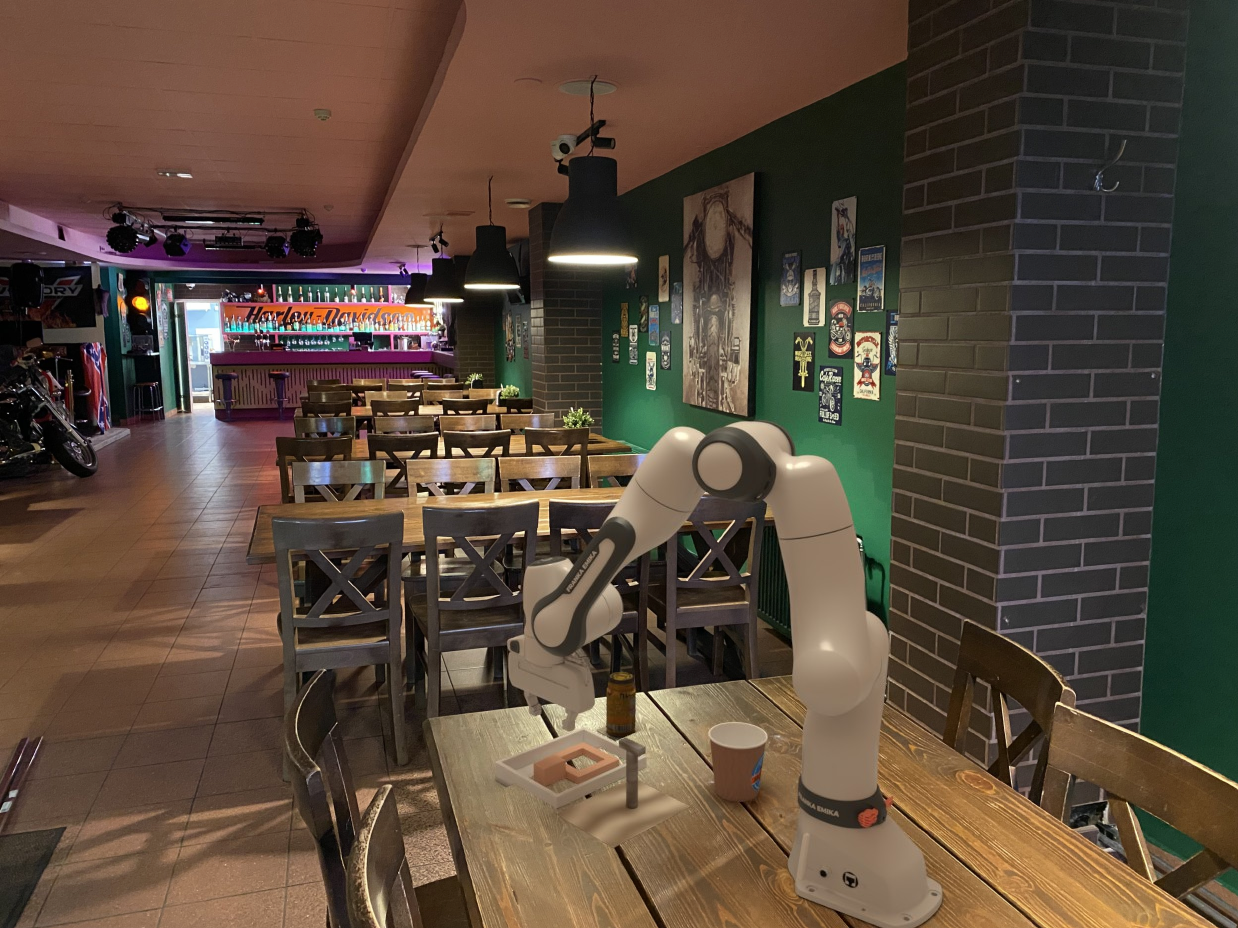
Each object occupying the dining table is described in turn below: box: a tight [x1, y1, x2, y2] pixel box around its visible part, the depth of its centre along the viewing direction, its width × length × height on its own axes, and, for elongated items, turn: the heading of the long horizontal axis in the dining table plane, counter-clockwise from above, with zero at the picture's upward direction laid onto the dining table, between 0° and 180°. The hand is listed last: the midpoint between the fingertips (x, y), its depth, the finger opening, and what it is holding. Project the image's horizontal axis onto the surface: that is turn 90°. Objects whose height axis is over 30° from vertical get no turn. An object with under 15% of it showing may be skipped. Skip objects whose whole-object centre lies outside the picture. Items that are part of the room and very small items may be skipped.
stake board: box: [555, 737, 691, 849], centre depth 148 cm, size 14×18×13 cm
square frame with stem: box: [533, 742, 620, 788], centre depth 163 cm, size 10×15×4 cm, turn 134°
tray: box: [494, 726, 647, 809], centre depth 163 cm, size 18×22×4 cm
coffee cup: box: [707, 721, 769, 803], centre depth 155 cm, size 10×10×12 cm
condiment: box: [596, 671, 642, 742], centre depth 181 cm, size 7×8×12 cm
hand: (551, 721), depth 158 cm, fingers open, 8 cm apart
